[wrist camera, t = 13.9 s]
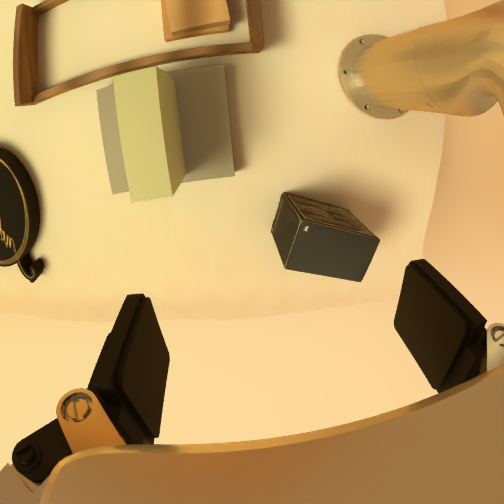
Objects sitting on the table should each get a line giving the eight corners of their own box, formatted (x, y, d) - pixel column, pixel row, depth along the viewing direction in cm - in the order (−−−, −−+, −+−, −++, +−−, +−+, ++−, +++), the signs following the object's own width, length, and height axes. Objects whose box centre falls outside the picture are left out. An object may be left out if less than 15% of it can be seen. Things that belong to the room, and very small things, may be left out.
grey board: (224, 67, 31) (224, 64, 29) (234, 172, 38) (234, 176, 35) (103, 91, 31) (96, 90, 28) (118, 189, 37) (112, 194, 35)
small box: (268, 234, 42) (281, 271, 33) (281, 190, 39) (299, 217, 30) (334, 248, 44) (361, 285, 35) (349, 209, 41) (382, 238, 32)
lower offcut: (222, -25, 25) (222, -31, 23) (229, 33, 30) (229, 29, 28) (162, -16, 25) (160, -21, 23) (167, 43, 29) (164, 39, 28)
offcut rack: (248, -45, 23) (251, -62, 19) (259, 52, 31) (264, 44, 26) (34, 12, 22) (16, 6, 17) (34, 104, 29) (15, 106, 25)
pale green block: (174, 79, 29) (155, 66, 20) (186, 174, 35) (172, 196, 26) (142, 85, 29) (113, 77, 20) (155, 179, 34) (131, 202, 26)
